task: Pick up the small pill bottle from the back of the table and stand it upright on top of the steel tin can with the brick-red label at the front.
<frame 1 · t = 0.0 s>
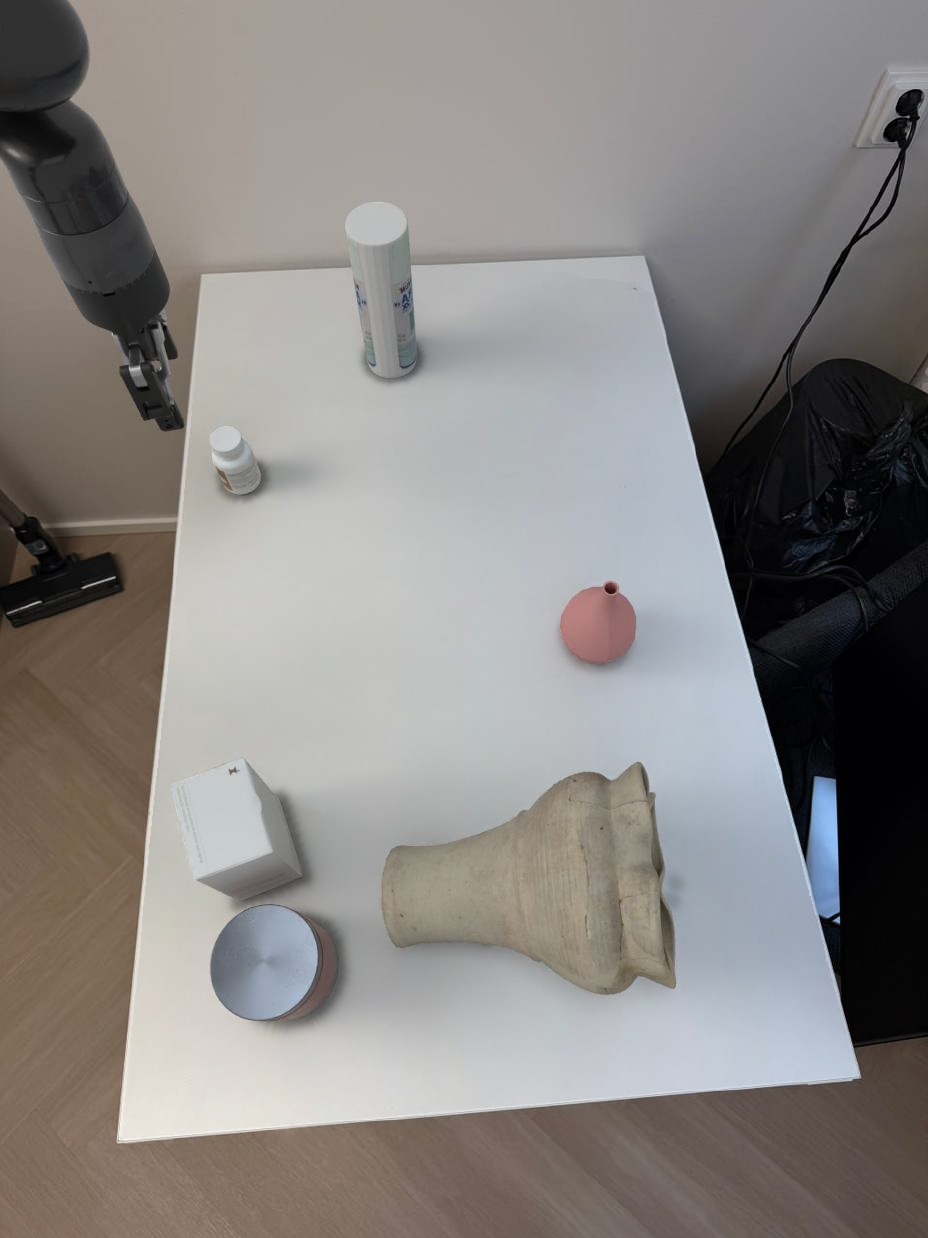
hand: (170, 391, 80), 18 cm above the table, tool pointing down, fingers open, 8 cm apart
vase: (516, 886, 78), on the table
cosmetic box: (262, 850, 79), on the table
pill bottle: (243, 480, 97), on the table
spray can: (392, 360, 105), on the table
pink rounded piece: (592, 641, 88), on the table
tin can: (291, 967, 75), on the table
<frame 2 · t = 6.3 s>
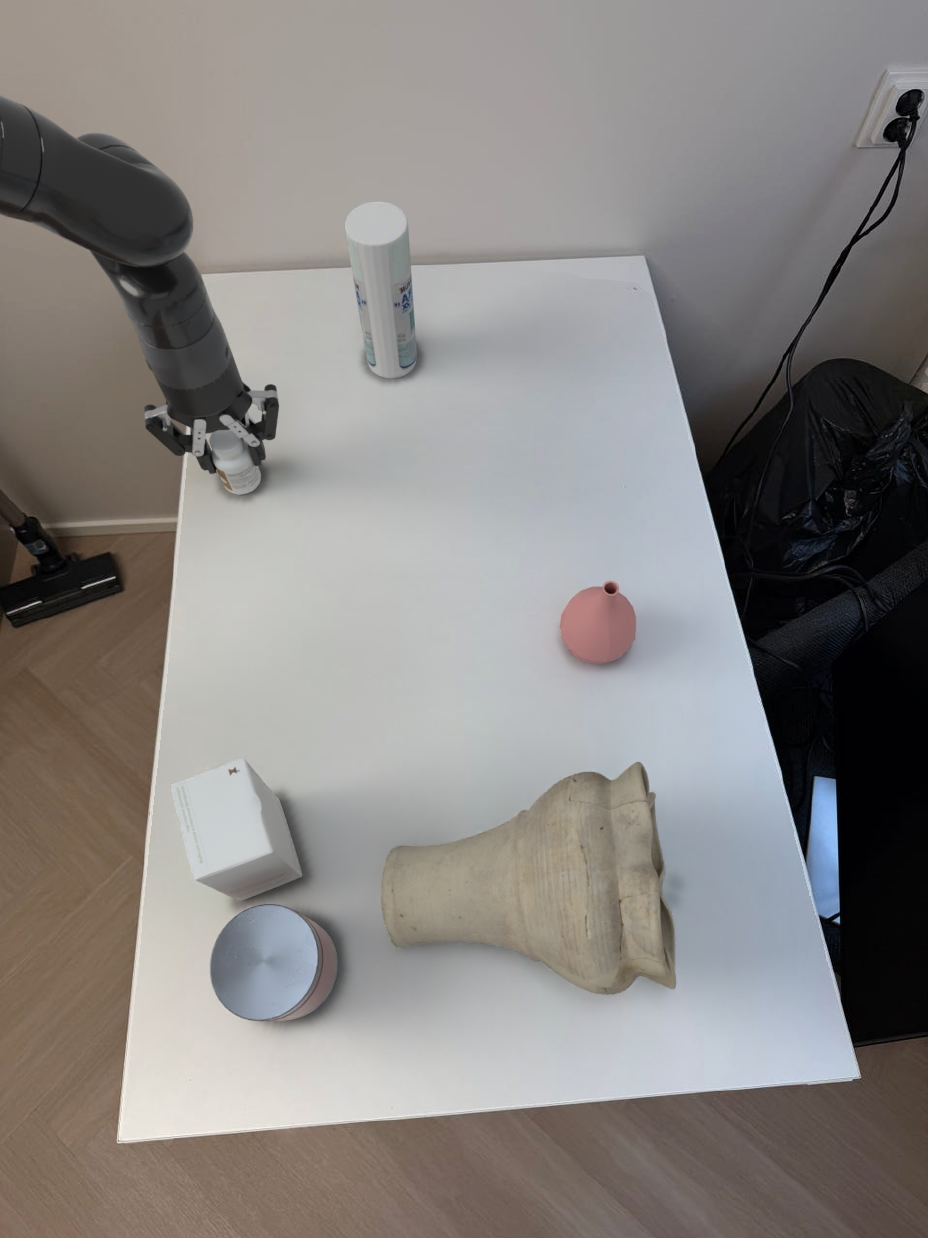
hand: (235, 462, 94), 3 cm above the table, tool pointing down, fingers closed on pill bottle, 4 cm apart
pill bottle: (243, 480, 97), on the table, touching gripper
everything else where it was.
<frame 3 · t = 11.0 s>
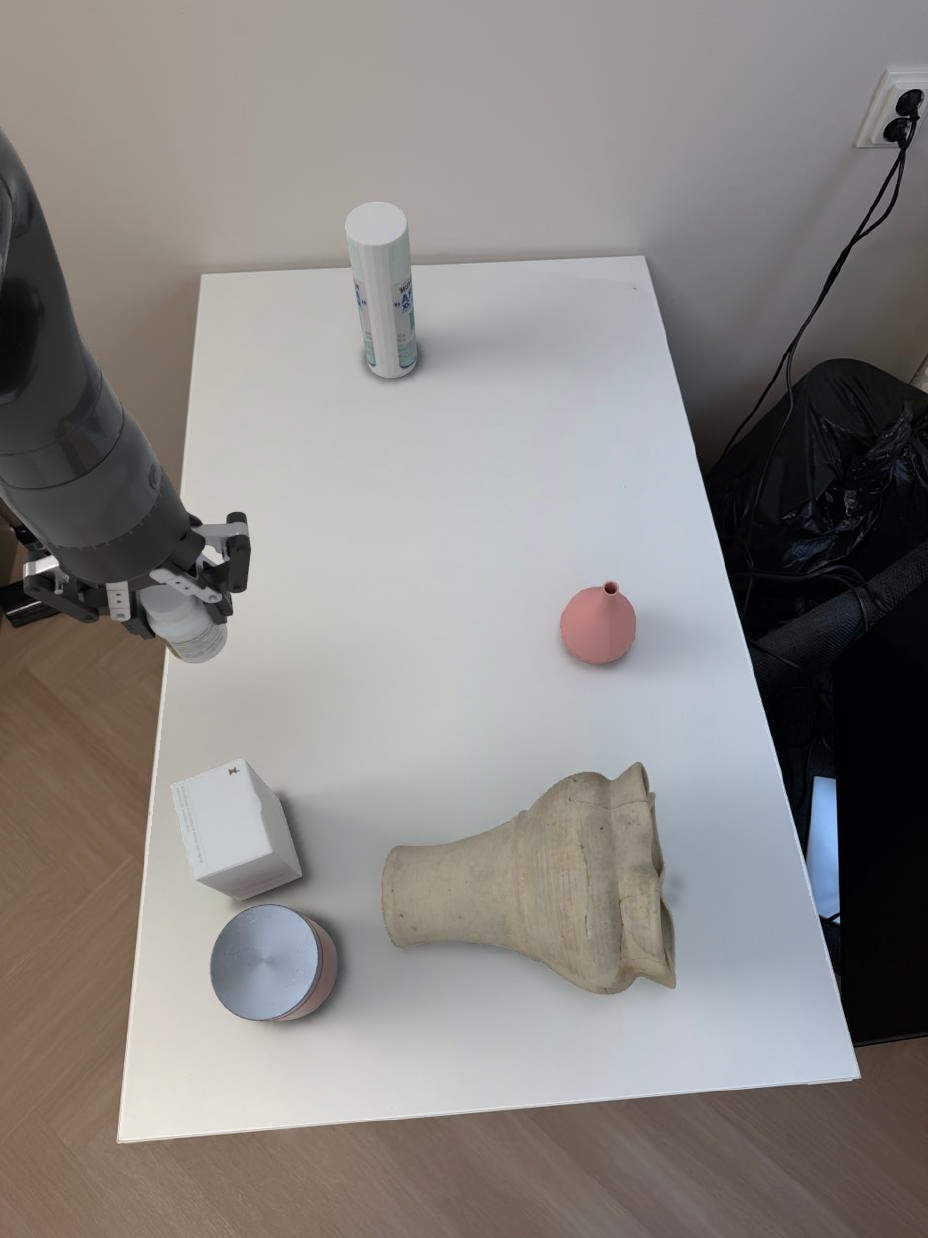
hand: (185, 619, 59), 27 cm above the table, tool pointing down, fingers closed on pill bottle, 4 cm apart
pill bottle: (199, 639, 63), point 24 cm above the table, touching gripper
everything else where it was.
when the fingers open (14 cm above the table, at t = 15.8 s): pill bottle stays where it is, resting on tin can.
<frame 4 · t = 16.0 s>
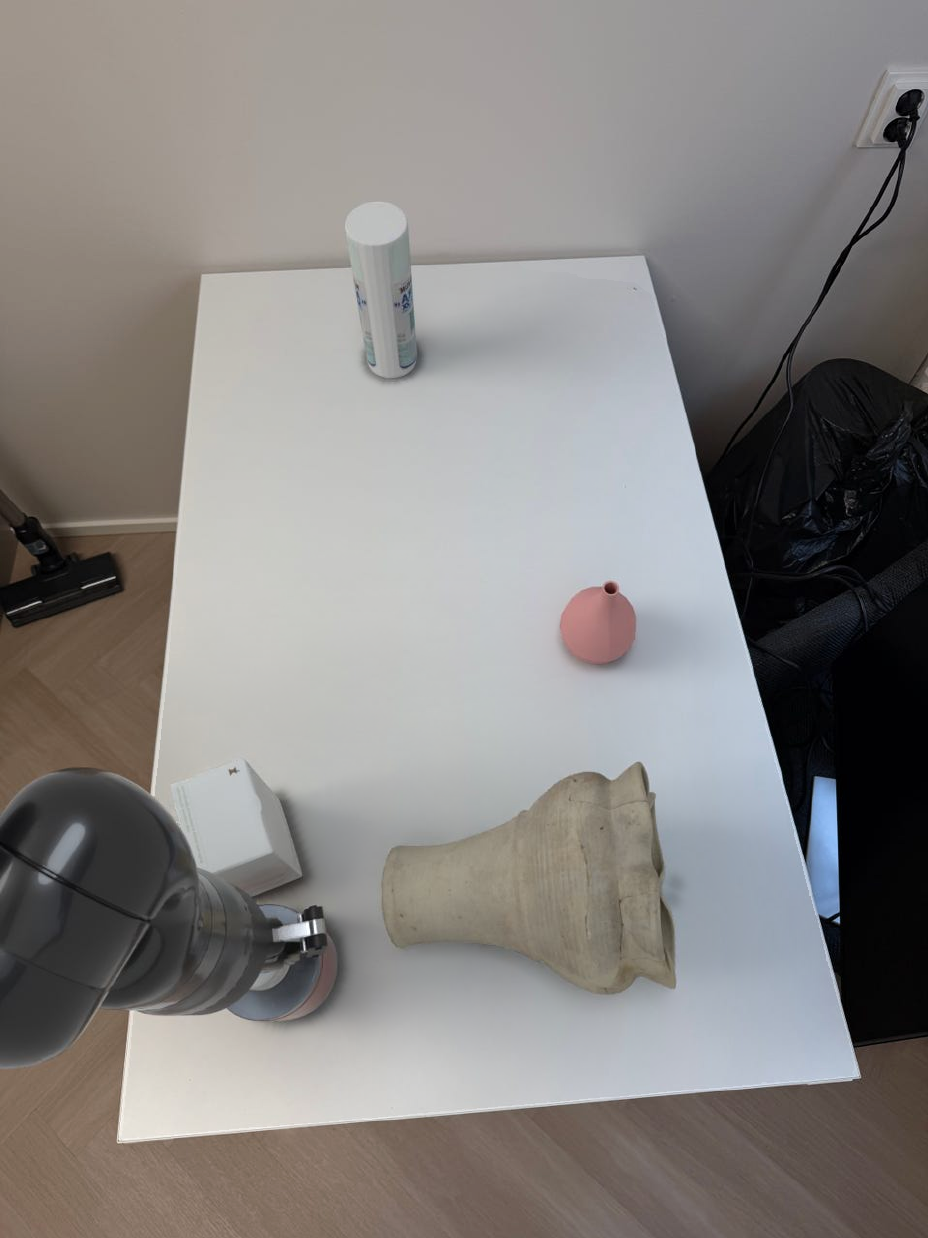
hand: (254, 958, 62), 14 cm above the table, tool pointing down, fingers open, 5 cm apart
pill bottle: (263, 960, 65), point 11 cm above the table, touching tin can
tin can: (291, 967, 75), on the table, touching pill bottle
everything else where it was.
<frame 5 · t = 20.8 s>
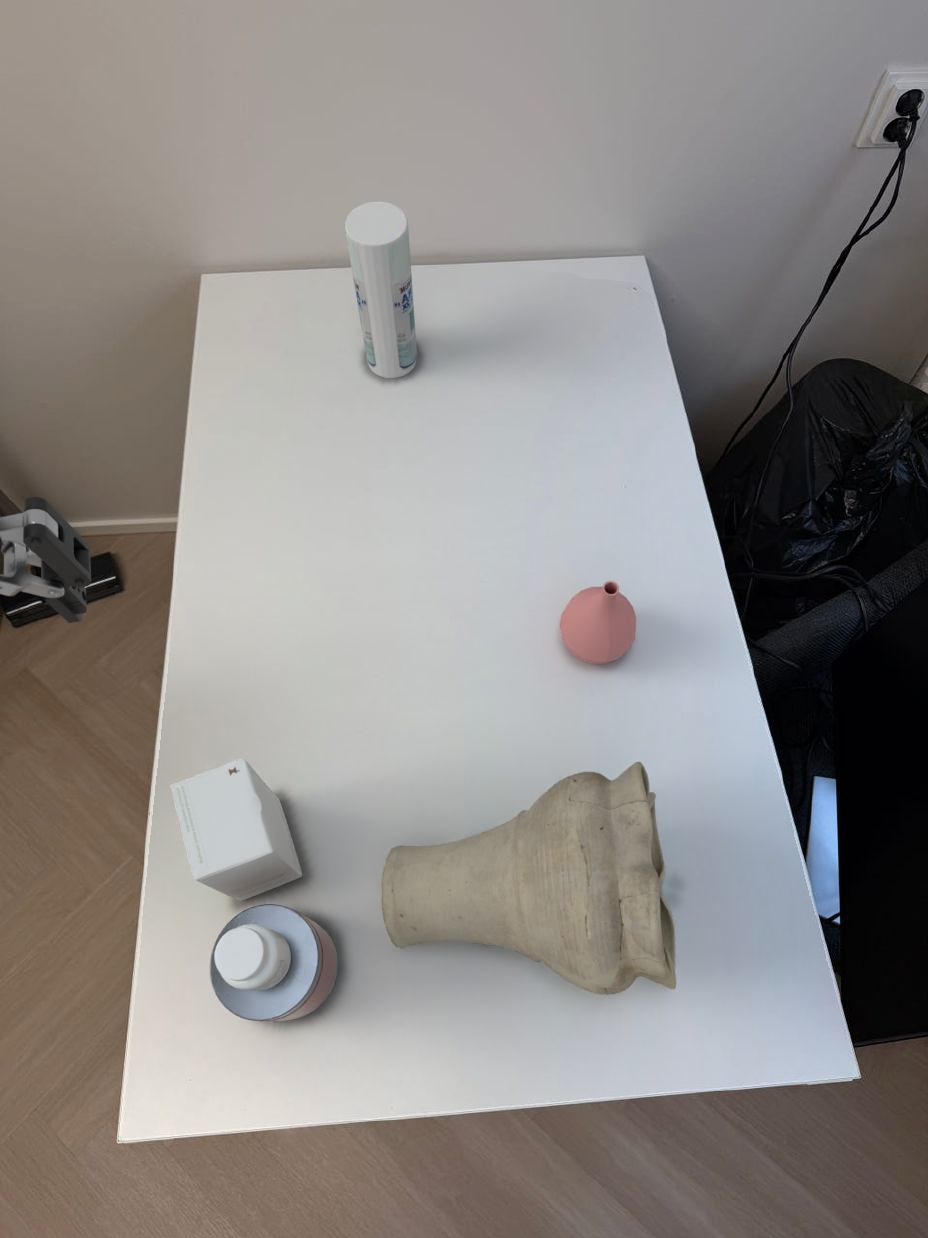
hand: (7, 622, 53), 33 cm above the table, tool pointing down, fingers open, 8 cm apart
nothing on the table moved.
at the end: pill bottle 0.1 cm off-centre on the tin can, point 10.8 cm above the tin can's base; pill bottle tilted 0°; tin can tilted 0° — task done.
